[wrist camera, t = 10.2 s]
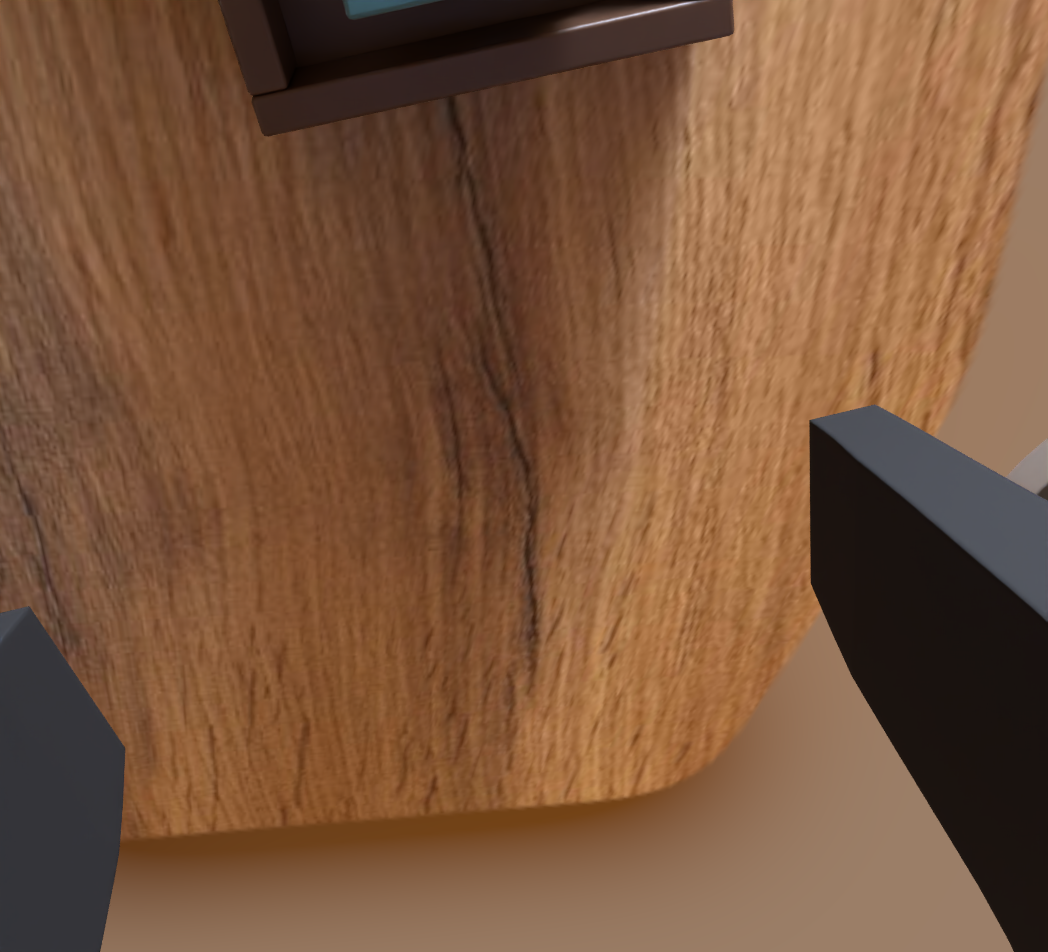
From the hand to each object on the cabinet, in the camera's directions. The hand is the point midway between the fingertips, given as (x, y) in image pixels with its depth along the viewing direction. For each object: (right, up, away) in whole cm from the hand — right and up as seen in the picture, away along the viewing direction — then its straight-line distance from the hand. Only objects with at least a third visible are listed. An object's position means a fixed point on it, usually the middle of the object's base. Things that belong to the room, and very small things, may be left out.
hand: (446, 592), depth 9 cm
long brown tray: (-3, +20, -1) cm, 20 cm away
